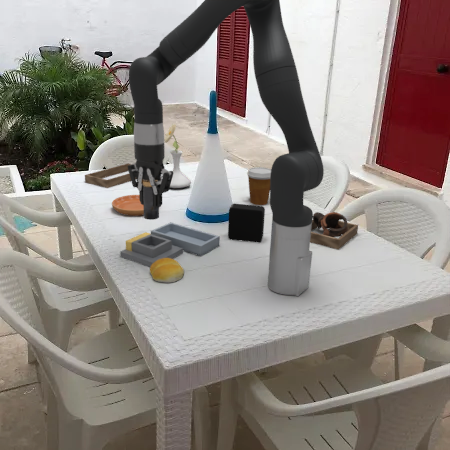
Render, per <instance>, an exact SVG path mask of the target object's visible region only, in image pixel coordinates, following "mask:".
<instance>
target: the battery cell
mask: <svg viewBox="0 0 450 450" xmlns="http://www.w3.org/2000/svg"><path fill="white" fill-rule="evenodd" d="M155 182H157V180H155ZM157 188H158V185H157ZM143 206H144V215H143V218H144V219H146V220H150V221H151V220H158V219H159V218H160V207H159V208H154V191H153V187H152V186H151V184H150V181H149V180H143Z"/></svg>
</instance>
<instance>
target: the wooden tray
mask: <svg viewBox="0 0 450 450" xmlns="http://www.w3.org/2000/svg"><path fill="white" fill-rule="evenodd" d="M347 223H348V225H347V227H348V231H347V232H346V233H344V234H343V235H342V234H341V236H339V237H330V236H326V235H322V234H323V233H322V234H321V233H317V232H313V231H314V230H315V229H318V226H317V225H316V224H315V222H314V221H313V219H312V228H311V237H310V244H311V243H312V244H316V245H318V246H319V245H320V246H323V247H327V248H331V249H334V250H339V251H340V249H341V248H342V247H344V246H345V245H346V244H347V243H348V242H349V241H351V239H353V238H354V237H355V236H357V235H358V230H359V224H355V223H352V222H347ZM338 224H340V225H341V226H342V227H343V226H344V221H343V220H339V221H338ZM333 229H334V228H333Z"/></svg>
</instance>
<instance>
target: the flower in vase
mask: <svg viewBox="0 0 450 450" xmlns="http://www.w3.org/2000/svg"><path fill="white" fill-rule="evenodd" d="M176 129H177V125H176V123H172V124H171V126H169V128H168V130H167V132H166V133H165V137H164V143H168V142H170V141H171V139H172V137H173V139H174V142H173V143H172V146H173V148H175V149H174V150H170V151H169V154H171V155H172V159H173V169H172V171H173V177H172V180H171V184H170V187H169V189H170V188H171V189H182V188H186V187H189V186H191V184H192V181H191V179H190V178H189V177H188V176H187V175H186V174H184V173H183V172H182V171H181V168H180V162H181V161H180V160H181V156H182V154H183V153H184V152H183V150H179V148H180V146H179V145H180V144H179V143H178V141H177V138H176V136H175V135H174V134H175V132H176Z"/></svg>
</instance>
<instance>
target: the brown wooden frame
mask: <svg viewBox="0 0 450 450" xmlns="http://www.w3.org/2000/svg"><path fill="white" fill-rule="evenodd" d="M131 164H132V163H124V164H121V165H117V166H114V167H109V168H106V169H102V170H98V171H94V172H92V173H87V174H84V183H87V184H90V185H93V186H97V187H101V188H104V189H105V188H106V189H109V188H113V187H116V186H120V185H123V184H125V183H129V182H132V181H131V178H130V174H129V173H126V174H122V173H125V172H129V171H128V165H131ZM118 174H122V175H119V176H118ZM115 175H117V176H115ZM112 176H115V177H112ZM108 177H112V178H108ZM106 178H108V179H106ZM135 179H136V177H135ZM136 180H137V179H136Z"/></svg>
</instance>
